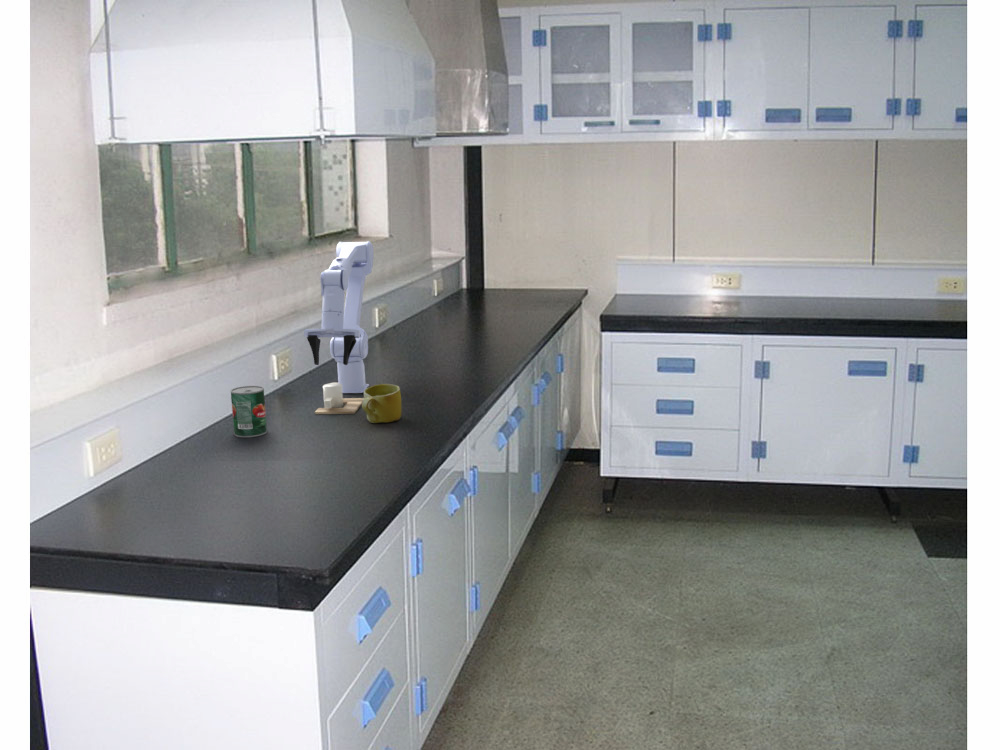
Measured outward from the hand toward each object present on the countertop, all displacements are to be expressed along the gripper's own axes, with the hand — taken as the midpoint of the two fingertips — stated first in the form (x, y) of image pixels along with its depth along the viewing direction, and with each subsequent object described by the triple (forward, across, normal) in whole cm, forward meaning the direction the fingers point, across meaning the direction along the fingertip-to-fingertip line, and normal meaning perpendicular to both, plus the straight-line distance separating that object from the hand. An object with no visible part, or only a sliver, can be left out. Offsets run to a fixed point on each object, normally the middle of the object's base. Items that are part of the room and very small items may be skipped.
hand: (330, 364), depth 271 cm
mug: (+16, +15, -8) cm, 24 cm away
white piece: (+11, 0, +4) cm, 12 cm away
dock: (+10, +2, +5) cm, 12 cm away
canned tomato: (+20, -15, -18) cm, 31 cm away
